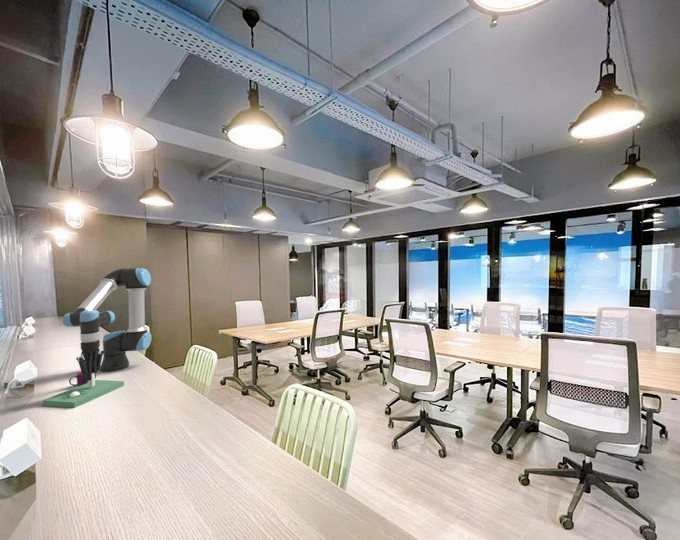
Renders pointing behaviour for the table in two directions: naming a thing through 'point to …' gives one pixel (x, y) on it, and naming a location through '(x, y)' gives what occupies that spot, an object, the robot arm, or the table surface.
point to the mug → (79, 379)
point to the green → (82, 394)
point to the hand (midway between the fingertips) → (91, 385)
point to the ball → (74, 394)
